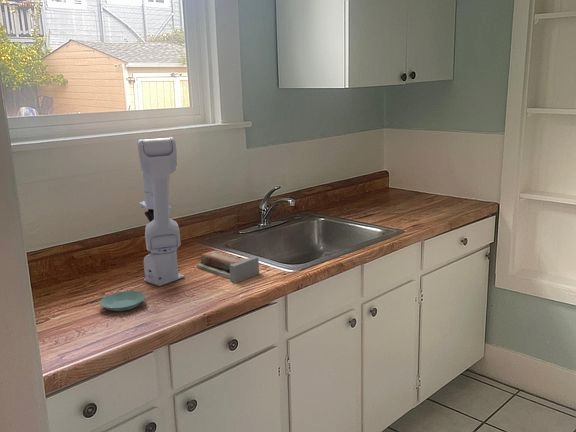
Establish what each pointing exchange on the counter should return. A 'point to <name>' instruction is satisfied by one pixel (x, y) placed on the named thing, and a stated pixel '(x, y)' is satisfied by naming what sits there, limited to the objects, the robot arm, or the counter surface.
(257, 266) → the board
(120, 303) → the saucer
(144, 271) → the robot arm
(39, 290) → the counter surface
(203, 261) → the packaged product
